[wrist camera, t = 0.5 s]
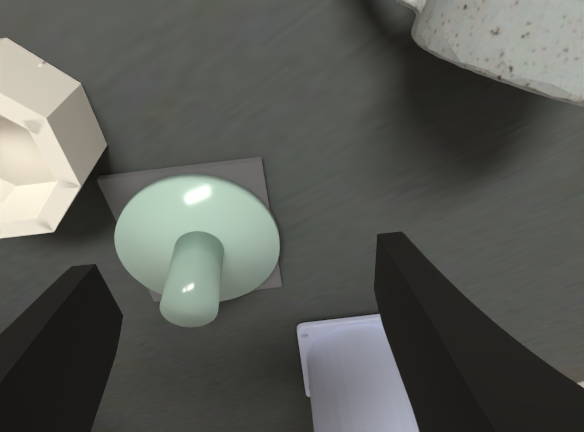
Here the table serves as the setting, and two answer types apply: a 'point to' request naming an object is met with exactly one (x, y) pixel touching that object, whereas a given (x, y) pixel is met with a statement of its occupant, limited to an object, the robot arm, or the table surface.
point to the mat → (239, 171)
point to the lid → (197, 243)
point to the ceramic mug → (509, 41)
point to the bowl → (41, 142)
